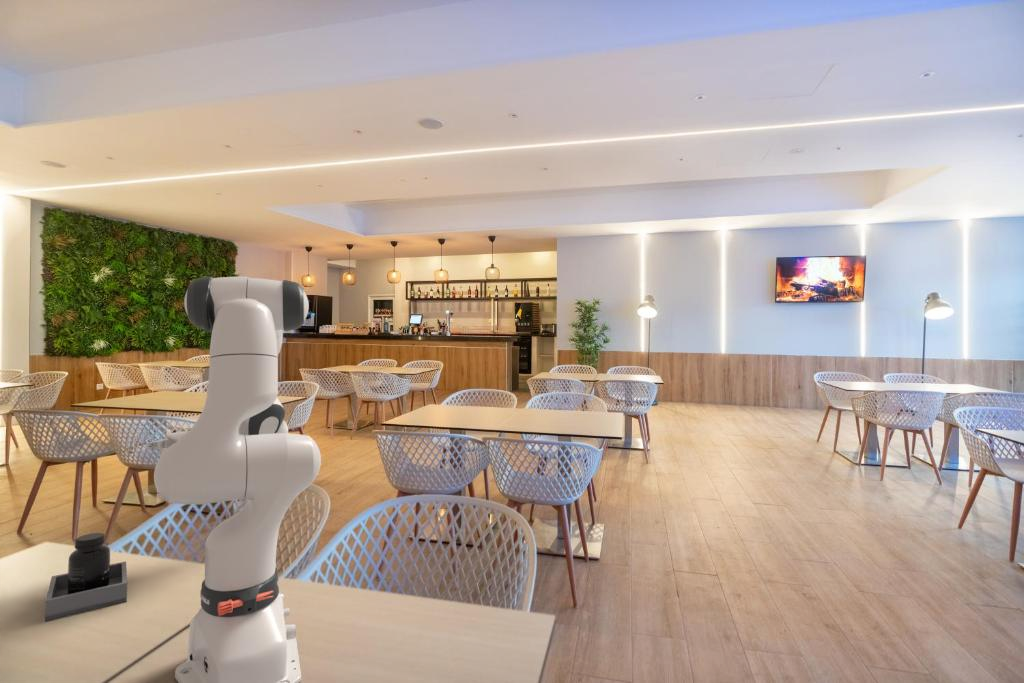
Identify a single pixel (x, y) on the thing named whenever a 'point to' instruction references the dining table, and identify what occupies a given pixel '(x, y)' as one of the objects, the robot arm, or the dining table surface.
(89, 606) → the tray
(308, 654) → the dining table surface
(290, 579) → the dining table surface
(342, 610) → the dining table surface
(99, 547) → the supplement bottle
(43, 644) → the dining table surface
